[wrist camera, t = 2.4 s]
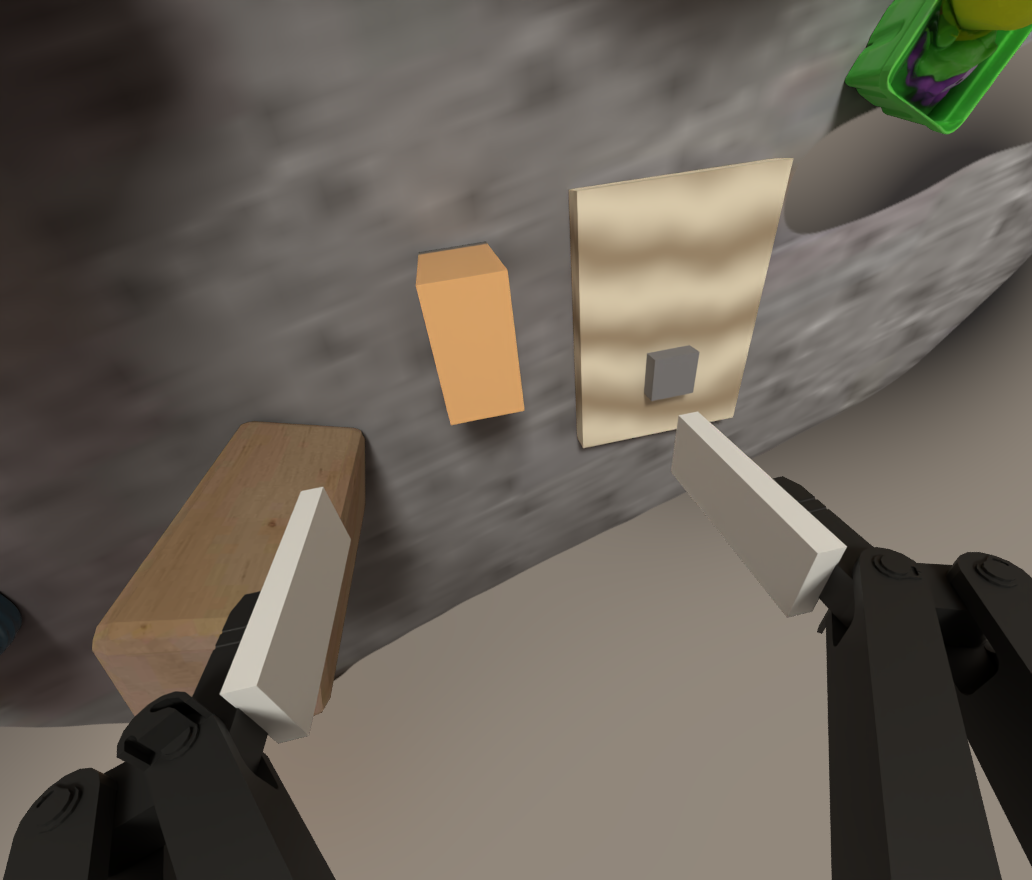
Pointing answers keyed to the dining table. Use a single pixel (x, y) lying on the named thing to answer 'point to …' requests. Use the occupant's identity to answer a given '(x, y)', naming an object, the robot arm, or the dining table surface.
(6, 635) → the canister
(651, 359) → the gray square block
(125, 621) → the wooden block
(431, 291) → the block
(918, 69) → the fruit basket
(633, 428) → the birch board
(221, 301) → the dining table surface
